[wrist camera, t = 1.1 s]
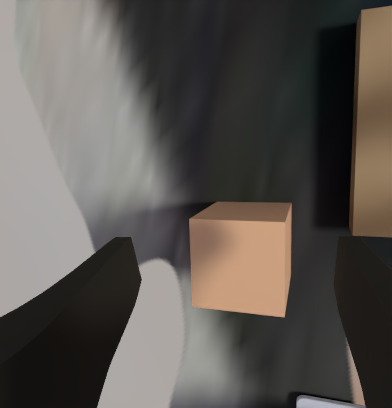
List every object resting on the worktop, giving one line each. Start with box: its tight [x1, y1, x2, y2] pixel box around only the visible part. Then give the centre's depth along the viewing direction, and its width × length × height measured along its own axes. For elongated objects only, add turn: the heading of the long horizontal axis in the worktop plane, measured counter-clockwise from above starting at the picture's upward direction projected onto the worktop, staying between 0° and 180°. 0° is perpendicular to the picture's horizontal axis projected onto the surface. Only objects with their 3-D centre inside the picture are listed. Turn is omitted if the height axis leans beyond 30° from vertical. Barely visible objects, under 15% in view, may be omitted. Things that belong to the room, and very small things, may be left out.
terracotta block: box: [189, 202, 291, 317], centre depth 21 cm, size 5×5×6 cm
